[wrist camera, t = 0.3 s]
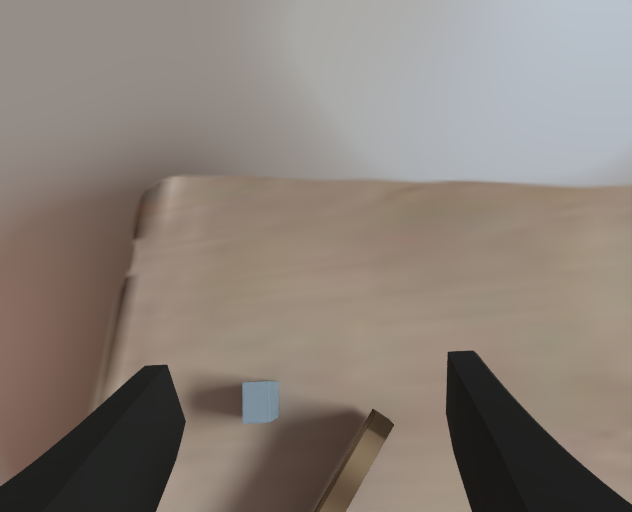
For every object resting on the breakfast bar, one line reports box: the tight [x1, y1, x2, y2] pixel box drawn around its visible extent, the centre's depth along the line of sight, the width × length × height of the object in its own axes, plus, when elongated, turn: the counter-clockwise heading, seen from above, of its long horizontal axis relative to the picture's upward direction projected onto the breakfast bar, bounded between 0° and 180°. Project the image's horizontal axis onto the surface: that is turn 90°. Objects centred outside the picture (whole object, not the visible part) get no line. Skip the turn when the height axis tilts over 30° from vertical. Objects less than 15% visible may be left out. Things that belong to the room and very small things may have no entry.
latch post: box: [242, 381, 279, 424], centre depth 37 cm, size 3×2×5 cm, turn 3°
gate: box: [314, 409, 394, 512], centre depth 34 cm, size 14×2×5 cm, turn 148°
